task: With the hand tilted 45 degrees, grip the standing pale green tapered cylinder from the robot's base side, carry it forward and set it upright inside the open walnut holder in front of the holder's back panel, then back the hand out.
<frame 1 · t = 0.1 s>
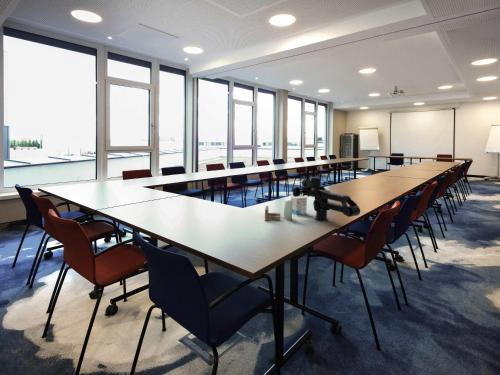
hand: (296, 189, 217), 17 cm above the table, tool horizontal, fingers open, 9 cm apart
pale green tapered cylinder: (288, 218, 200), on the table
ink box: (298, 213, 217), on the table
holder: (273, 218, 201), on the table
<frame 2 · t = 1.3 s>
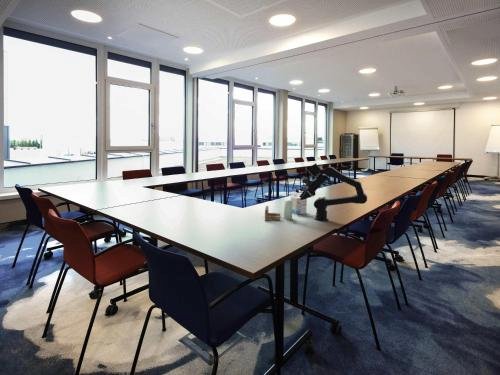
hand: (300, 198, 197), 14 cm above the table, tool tilted 45°, fingers open, 9 cm apart
nothing on the table moved.
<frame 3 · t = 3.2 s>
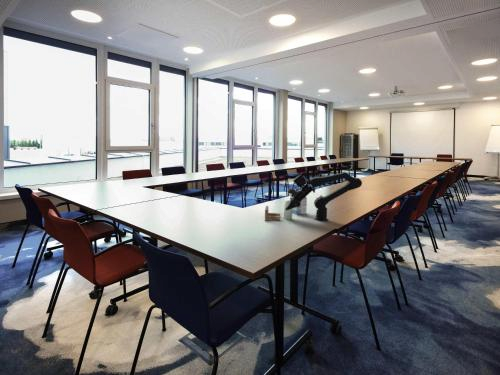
hand: (286, 208, 199), 7 cm above the table, tool tilted 45°, fingers closed on pale green tapered cylinder, 5 cm apart
pale green tapered cylinder: (288, 218, 200), on the table, touching gripper
everything else where it was.
when the fingers open (8 cm above the table, at t = 6.8 s): pale green tapered cylinder drops 1 cm, resting in holder.
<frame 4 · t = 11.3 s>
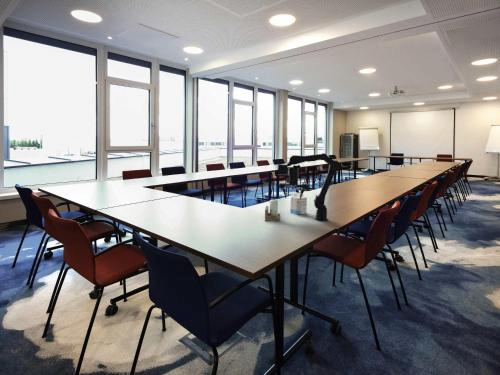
hand: (293, 199, 199), 13 cm above the table, tool pointing down, fingers open, 9 cm apart
pale green tapered cylinder: (273, 218, 201), resting in holder
everything else where it was.
at the end: pale green tapered cylinder 0.1 cm from the holder (horizontally); pale green tapered cylinder tilted 0°; the gripper is holding nothing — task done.
